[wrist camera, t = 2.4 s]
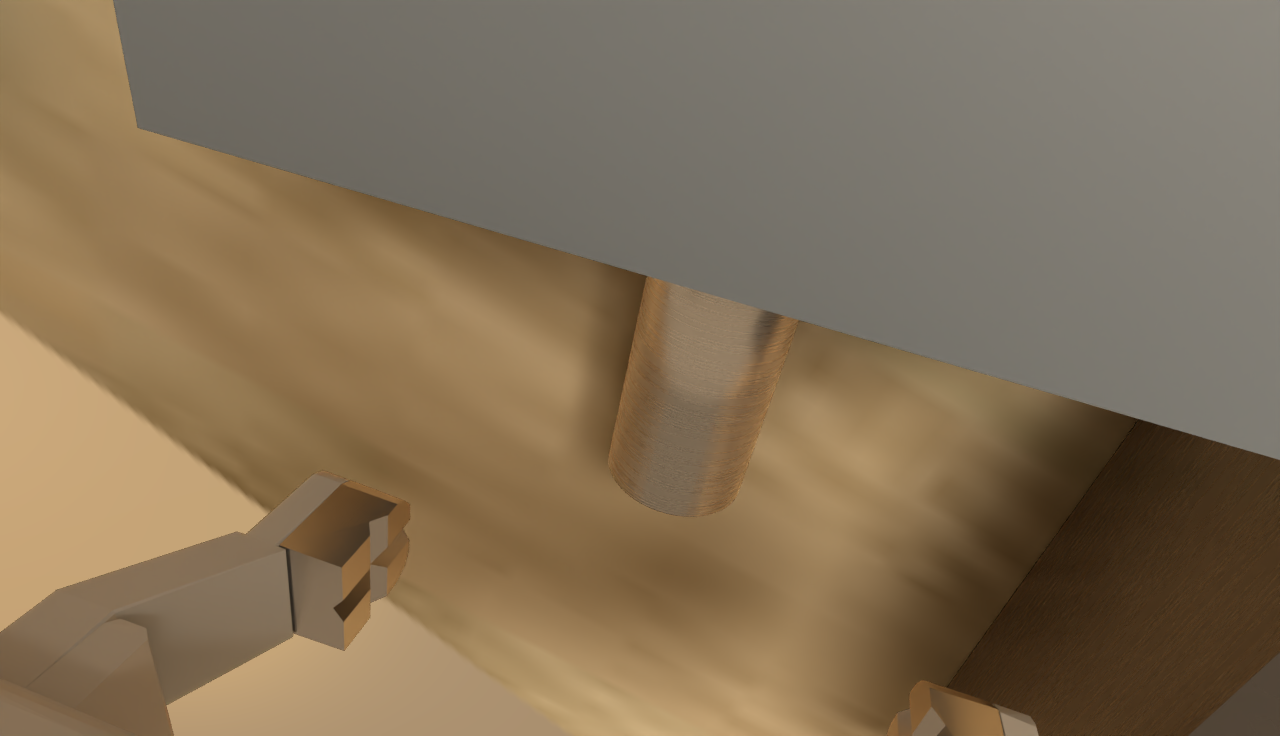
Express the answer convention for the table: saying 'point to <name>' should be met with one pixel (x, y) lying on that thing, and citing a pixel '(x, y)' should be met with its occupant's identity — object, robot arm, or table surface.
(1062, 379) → the grey block
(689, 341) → the axle
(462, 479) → the table surface
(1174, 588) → the v block
